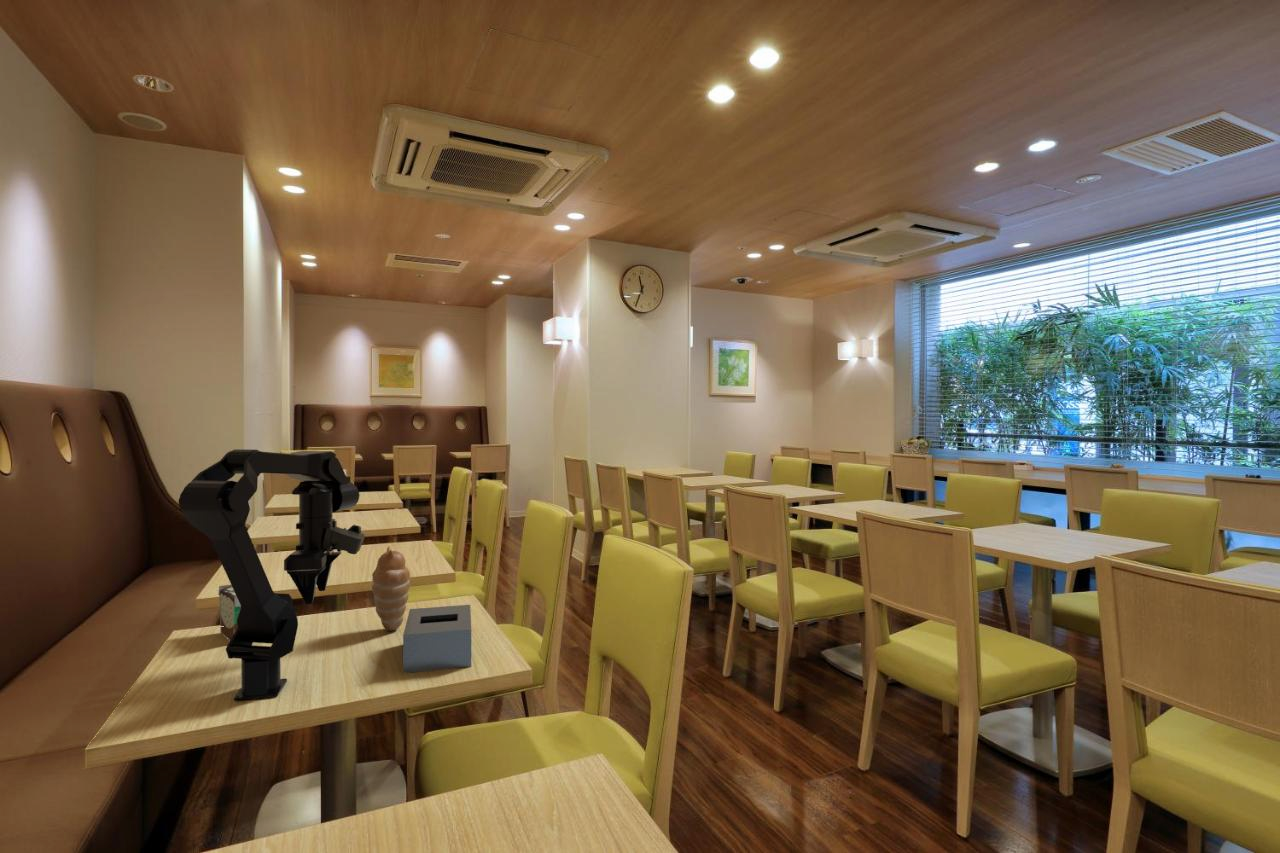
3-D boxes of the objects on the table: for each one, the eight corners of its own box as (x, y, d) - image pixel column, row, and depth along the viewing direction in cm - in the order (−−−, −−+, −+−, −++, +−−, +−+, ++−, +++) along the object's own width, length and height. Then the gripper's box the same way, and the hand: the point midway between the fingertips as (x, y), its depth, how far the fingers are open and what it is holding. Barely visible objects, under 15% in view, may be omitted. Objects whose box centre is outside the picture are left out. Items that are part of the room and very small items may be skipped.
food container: (269, 638, 134) (269, 590, 134) (235, 646, 130) (235, 597, 129) (250, 624, 142) (250, 580, 142) (218, 631, 138) (218, 585, 138)
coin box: (471, 666, 120) (471, 629, 119) (403, 673, 116) (403, 634, 116) (470, 637, 135) (470, 604, 135) (410, 642, 132) (410, 609, 132)
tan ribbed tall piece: (370, 627, 141) (370, 546, 141) (407, 621, 145) (407, 542, 145) (373, 639, 133) (373, 553, 133) (413, 633, 137) (413, 550, 137)
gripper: (350, 522, 115) (350, 608, 116) (369, 508, 134) (369, 582, 134) (282, 524, 113) (283, 612, 113) (311, 509, 131) (311, 585, 131)
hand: (315, 597), depth 123 cm, fingers open, 9 cm apart
